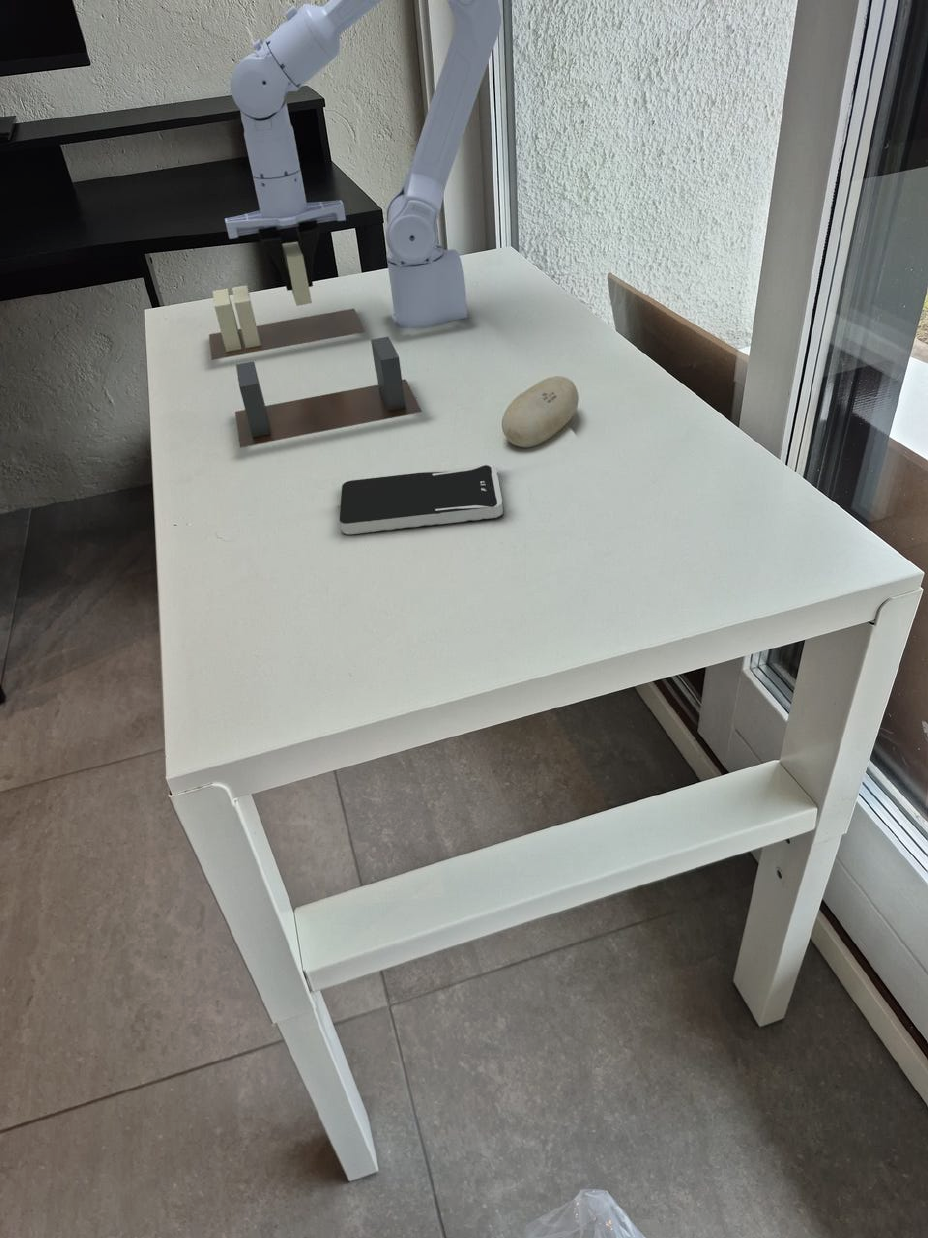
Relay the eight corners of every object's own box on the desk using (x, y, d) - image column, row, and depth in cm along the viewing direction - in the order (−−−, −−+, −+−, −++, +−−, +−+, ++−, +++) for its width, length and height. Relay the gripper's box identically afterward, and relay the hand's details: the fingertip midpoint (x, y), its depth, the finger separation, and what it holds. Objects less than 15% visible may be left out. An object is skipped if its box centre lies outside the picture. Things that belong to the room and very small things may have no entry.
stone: (594, 385, 96) (562, 404, 86) (571, 438, 99) (537, 463, 89) (546, 362, 97) (509, 378, 87) (525, 415, 100) (486, 437, 90)
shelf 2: (406, 386, 106) (405, 378, 105) (423, 419, 99) (422, 411, 99) (236, 419, 103) (234, 411, 103) (241, 455, 96) (239, 447, 96)
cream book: (306, 287, 120) (297, 241, 116) (311, 302, 115) (302, 254, 111) (291, 290, 120) (281, 243, 116) (296, 305, 115) (286, 257, 111)
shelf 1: (355, 315, 125) (354, 308, 125) (366, 338, 118) (365, 331, 118) (210, 341, 122) (208, 334, 122) (213, 366, 115) (211, 359, 115)
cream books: (257, 329, 121) (247, 284, 118) (261, 345, 117) (250, 299, 113) (224, 335, 121) (212, 290, 117) (226, 352, 116) (214, 306, 112)
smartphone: (342, 481, 88) (495, 463, 88) (345, 493, 89) (496, 475, 89) (339, 524, 82) (502, 505, 82) (341, 536, 83) (503, 518, 83)
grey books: (395, 386, 104) (388, 335, 100) (406, 408, 100) (399, 356, 96) (248, 414, 102) (235, 364, 98) (252, 438, 97) (239, 386, 93)
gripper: (217, 189, 104) (245, 306, 112) (341, 170, 106) (359, 286, 115) (214, 175, 109) (241, 287, 118) (332, 157, 111) (350, 269, 120)
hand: (299, 286), depth 117 cm, fingers closed on cream book, 2 cm apart
